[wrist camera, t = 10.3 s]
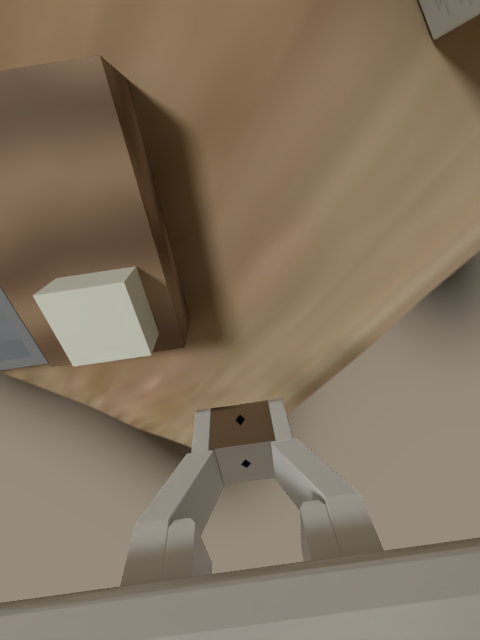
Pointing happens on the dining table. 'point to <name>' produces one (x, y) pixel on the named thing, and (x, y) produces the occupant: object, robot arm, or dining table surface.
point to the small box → (448, 14)
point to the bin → (16, 339)
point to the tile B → (100, 316)
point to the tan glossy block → (79, 194)
